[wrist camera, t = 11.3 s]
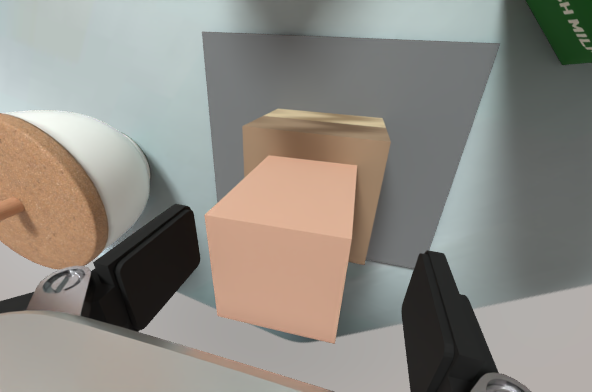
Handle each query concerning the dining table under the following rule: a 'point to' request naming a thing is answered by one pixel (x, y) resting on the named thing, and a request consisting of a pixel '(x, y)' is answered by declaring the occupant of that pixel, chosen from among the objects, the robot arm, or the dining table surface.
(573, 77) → the dining table surface
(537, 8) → the milk carton
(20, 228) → the lidded bowl
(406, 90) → the rubber mat
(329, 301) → the terracotta block
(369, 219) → the walnut slab
